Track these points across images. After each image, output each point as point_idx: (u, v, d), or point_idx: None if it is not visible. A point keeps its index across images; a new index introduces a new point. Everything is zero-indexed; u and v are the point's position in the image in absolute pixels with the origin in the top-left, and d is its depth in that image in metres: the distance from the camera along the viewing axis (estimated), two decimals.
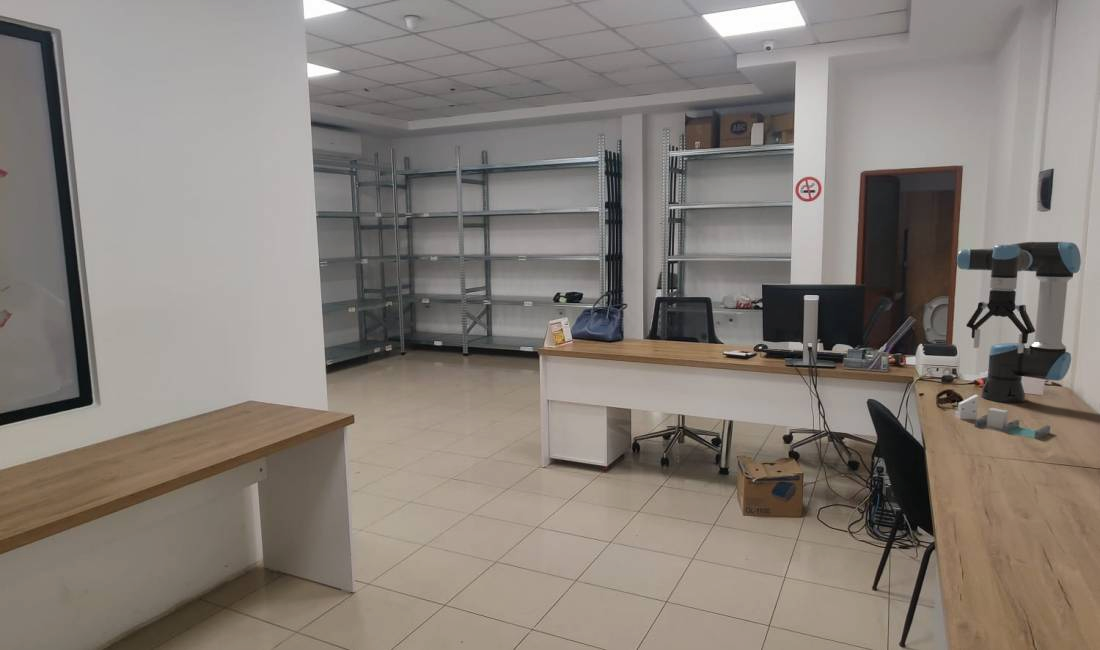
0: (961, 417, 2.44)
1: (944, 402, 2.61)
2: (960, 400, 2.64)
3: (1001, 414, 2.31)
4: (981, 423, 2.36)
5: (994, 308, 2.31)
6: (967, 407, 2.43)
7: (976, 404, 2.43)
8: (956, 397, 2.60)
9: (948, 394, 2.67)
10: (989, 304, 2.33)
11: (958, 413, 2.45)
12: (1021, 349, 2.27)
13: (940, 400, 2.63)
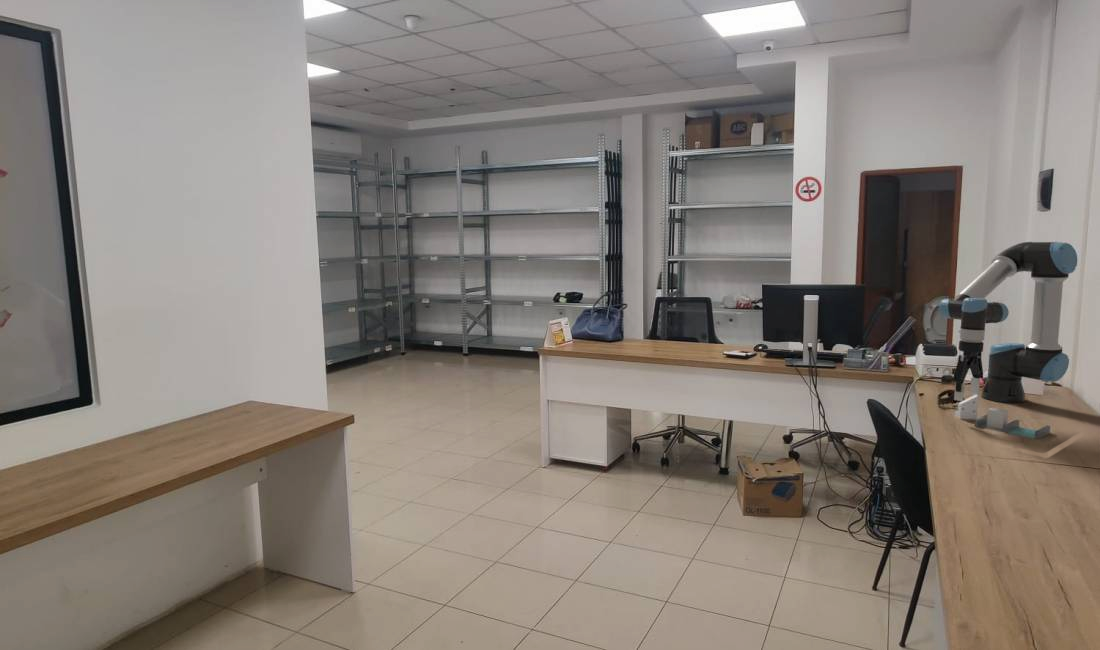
0: (961, 417, 2.44)
1: (945, 402, 2.61)
2: None
3: (1001, 414, 2.31)
4: (981, 423, 2.36)
5: None
6: (967, 407, 2.43)
7: (976, 404, 2.43)
8: None
9: (949, 394, 2.67)
10: None
11: (958, 413, 2.45)
12: (957, 397, 2.40)
13: (941, 400, 2.62)
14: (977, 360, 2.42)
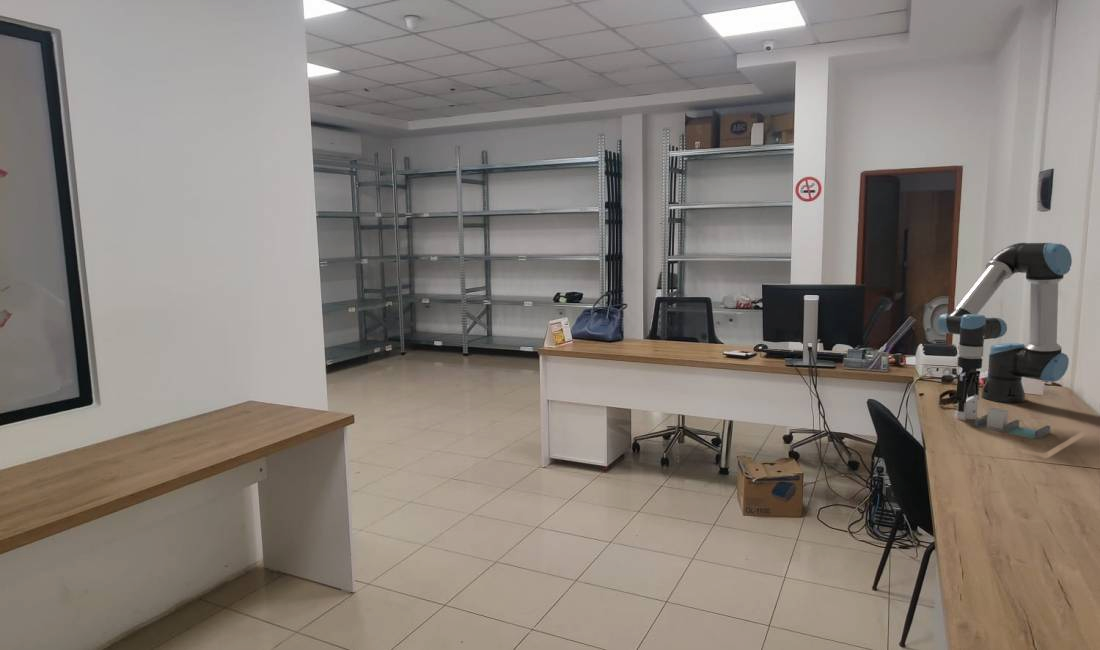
0: None
1: (947, 403, 2.60)
2: None
3: (1001, 414, 2.31)
4: (981, 423, 2.36)
5: None
6: (967, 407, 2.43)
7: (976, 404, 2.43)
8: None
9: (951, 394, 2.66)
10: None
11: None
12: (959, 416, 2.43)
13: (943, 401, 2.62)
14: (976, 376, 2.43)
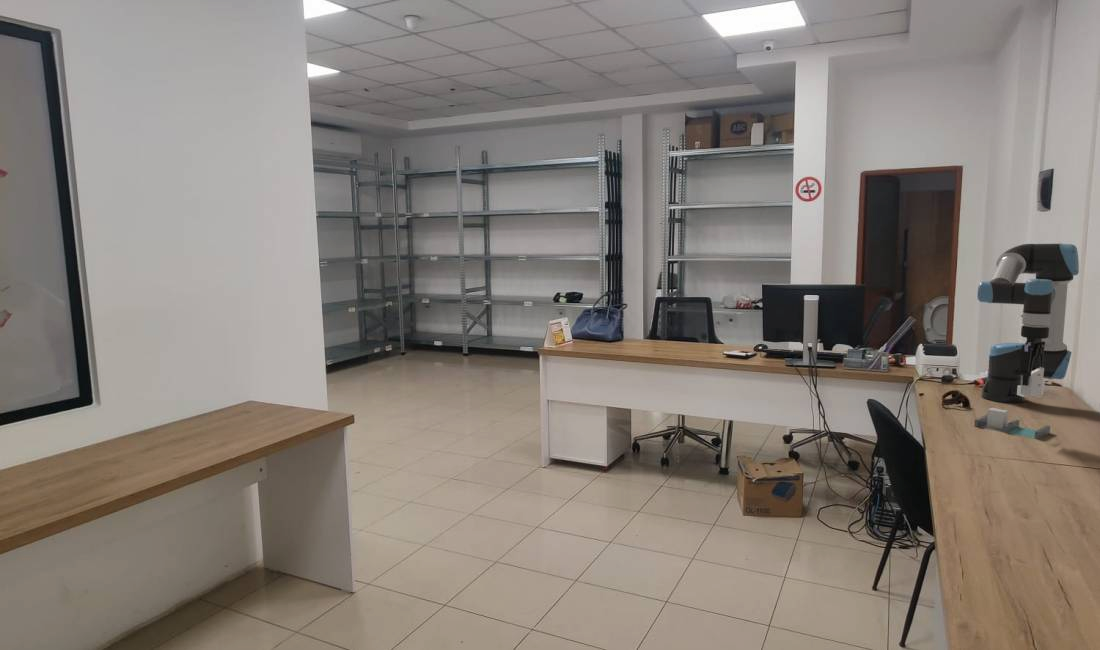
0: None
1: (950, 403, 2.60)
2: (965, 401, 2.62)
3: (1001, 414, 2.31)
4: (981, 423, 2.36)
5: None
6: (1032, 380, 2.23)
7: (1041, 377, 2.22)
8: (962, 398, 2.58)
9: (953, 395, 2.65)
10: None
11: None
12: (1023, 391, 2.23)
13: (946, 401, 2.61)
14: (1041, 347, 2.22)
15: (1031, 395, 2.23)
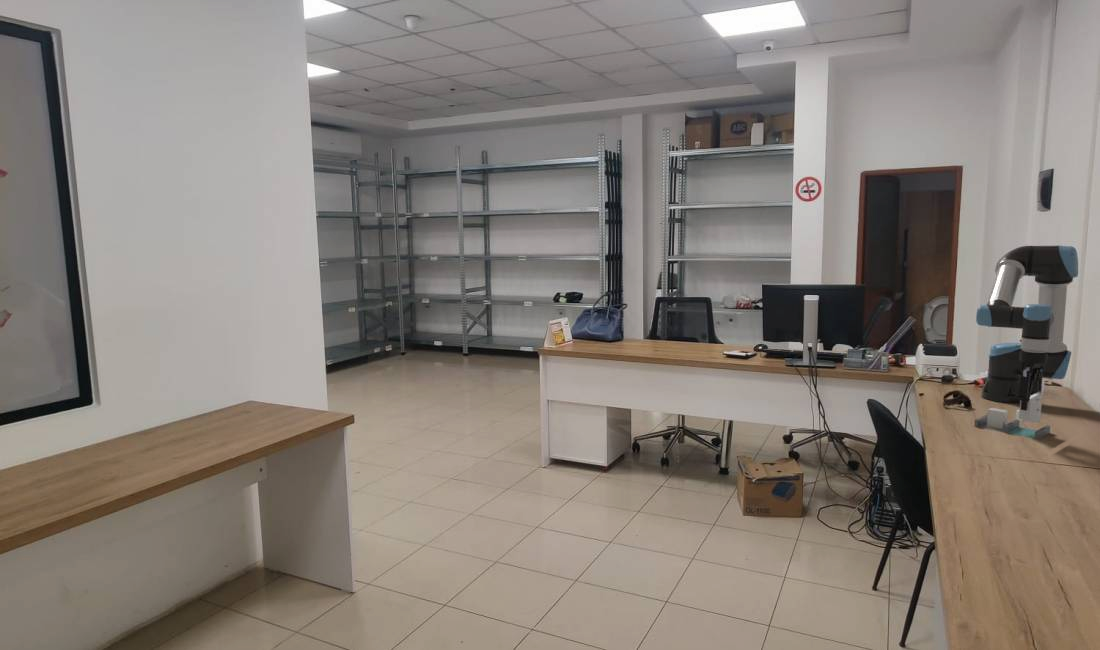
0: None
1: (952, 403, 2.59)
2: (967, 401, 2.62)
3: (1001, 414, 2.31)
4: (981, 423, 2.36)
5: None
6: (1030, 405, 2.24)
7: (1040, 402, 2.23)
8: (964, 398, 2.58)
9: (955, 395, 2.65)
10: None
11: None
12: (1022, 415, 2.24)
13: (947, 401, 2.60)
14: (1040, 372, 2.23)
15: (1030, 420, 2.24)
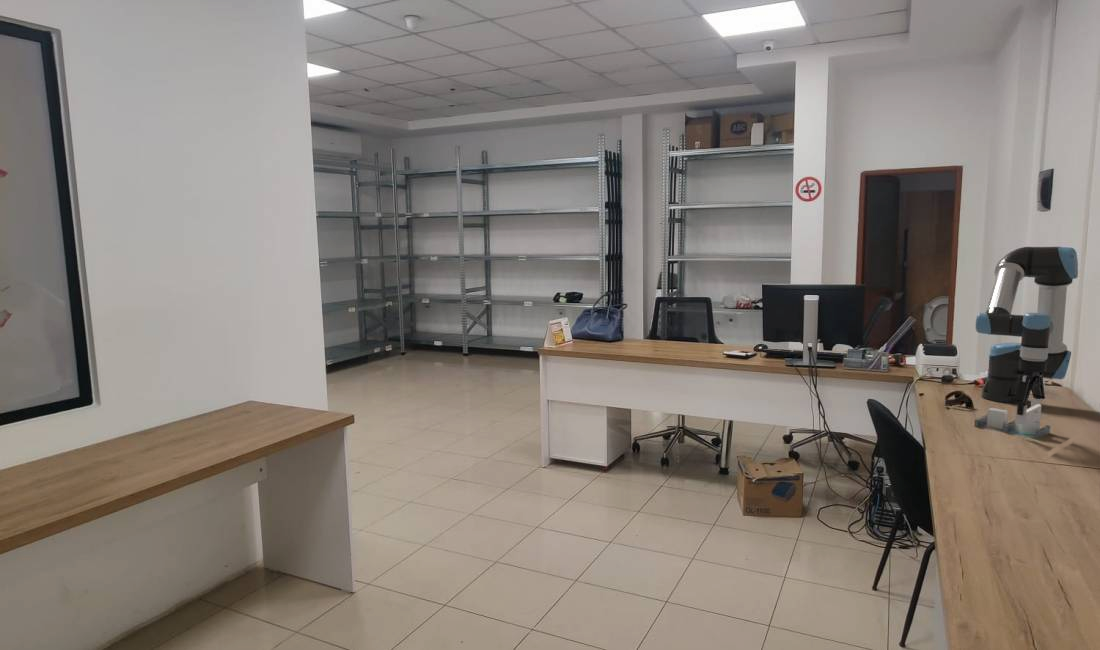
0: (1022, 428, 2.25)
1: (953, 404, 2.59)
2: (969, 401, 2.61)
3: (1001, 414, 2.31)
4: (981, 423, 2.36)
5: None
6: (1029, 417, 2.24)
7: (1039, 414, 2.24)
8: (965, 398, 2.57)
9: (956, 395, 2.65)
10: None
11: (1019, 424, 2.26)
12: (1018, 420, 2.22)
13: (949, 402, 2.60)
14: (1039, 380, 2.24)
15: (1028, 432, 2.25)
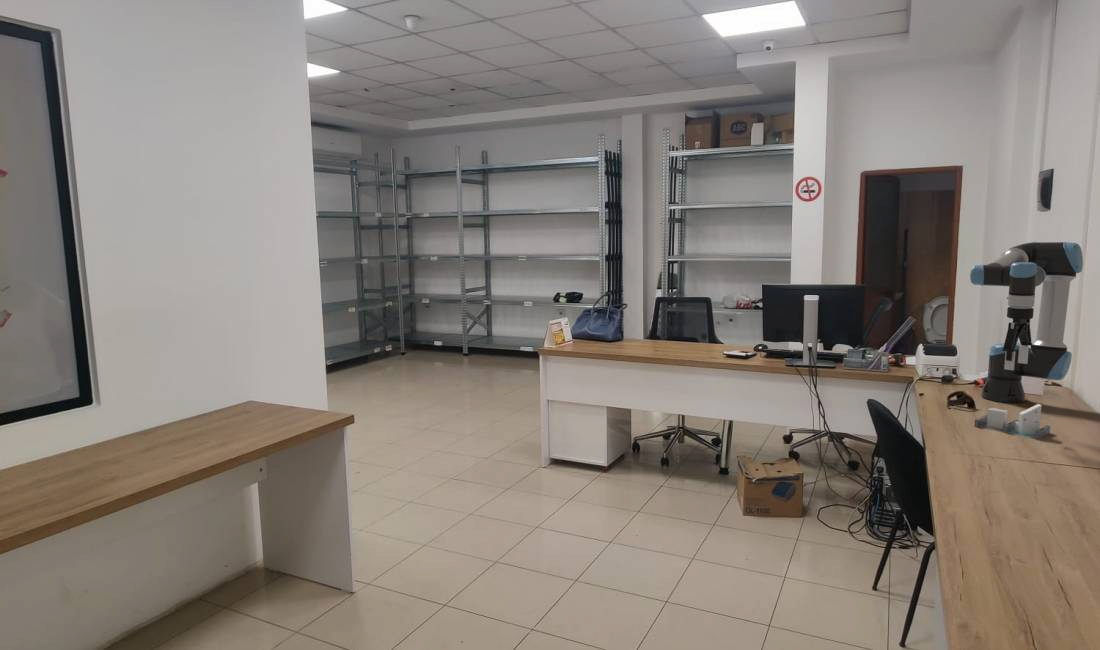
0: (1022, 428, 2.25)
1: (956, 404, 2.58)
2: (971, 402, 2.61)
3: (1001, 414, 2.31)
4: (981, 423, 2.36)
5: None
6: (1029, 417, 2.24)
7: (1039, 414, 2.24)
8: (968, 399, 2.57)
9: (958, 396, 2.64)
10: None
11: (1019, 424, 2.26)
12: (1007, 366, 2.31)
13: (951, 402, 2.59)
14: (1027, 327, 2.33)
15: (1028, 432, 2.25)
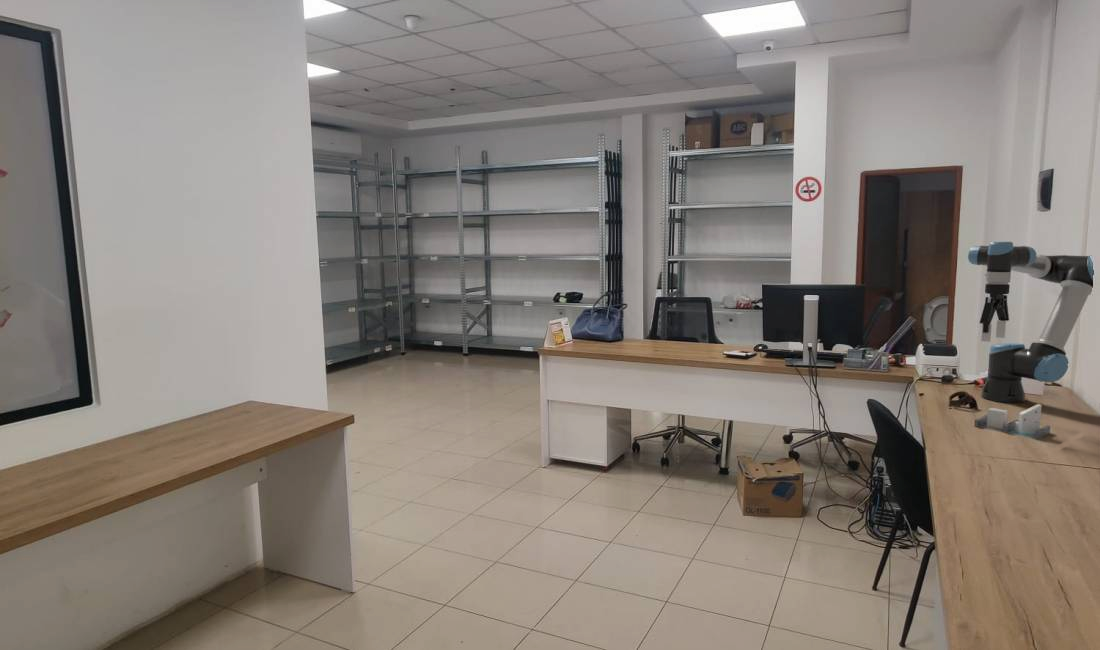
0: (1022, 428, 2.25)
1: (958, 404, 2.58)
2: (973, 402, 2.60)
3: (1001, 414, 2.31)
4: (981, 423, 2.36)
5: None
6: (1029, 417, 2.24)
7: (1039, 414, 2.24)
8: (970, 399, 2.56)
9: (960, 396, 2.64)
10: None
11: (1019, 424, 2.26)
12: (984, 338, 2.47)
13: (953, 402, 2.59)
14: (1003, 302, 2.48)
15: (1028, 432, 2.25)
